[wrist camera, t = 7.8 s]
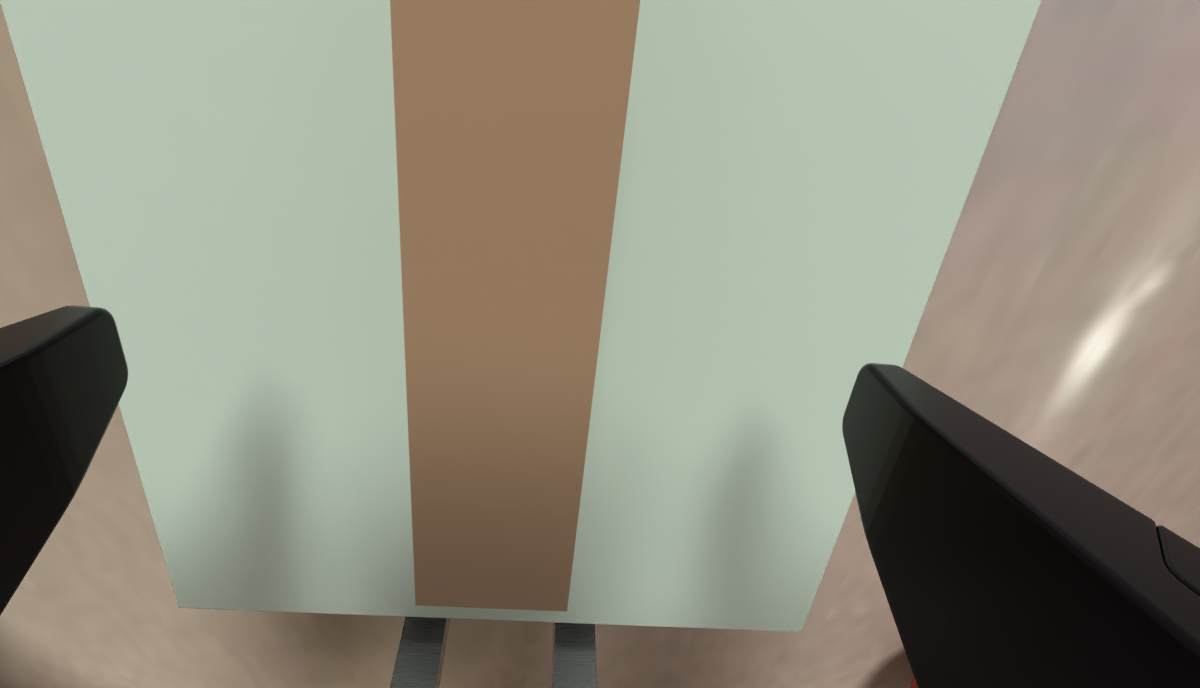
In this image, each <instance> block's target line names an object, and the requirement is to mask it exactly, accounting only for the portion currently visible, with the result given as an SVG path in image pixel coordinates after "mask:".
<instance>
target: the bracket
mask: <svg viewBox="0 0 1200 688" xmlns="http://www.w3.org/2000/svg"><path fill="white" fill-rule="evenodd" d="M449 622H450V618H429V617H406V618H405V622H404V627H403V631H402V636H401V641H400V645H399V650H398V654H397V659H396V663H395V668H394V673H393V677H392V682H391V686H390V688H439V684H440V678H441V672H442V665H443V659H444V653H445V647H446V640H447V634H448V628H449ZM552 688H597V685H596V652H595V624H584V623H558V622H553V660H552Z"/></svg>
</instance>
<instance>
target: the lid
mask: <svg viewBox="0 0 1200 688" xmlns="http://www.w3.org/2000/svg"><path fill="white" fill-rule="evenodd" d="M0 2H1V6H2V9H3V12H4V16H5V19H6V23H7V26H8V29H9V33H10V36H11V40H12V43H13V46H14V50H15V53H16V57H17V60H18V63H19V67H20V70H21V74H22V77H23V80H24V84H25V87H26V91H27V94H28V97H29V101H30V104H31V107H32V111H33V114H34V118H35V121H36V124H37V128H38V131H39V135H40V138H41V141H42V145H43V148H44V152H45V155H46V158H47V162H48V165H49V169H50V172H51V175H52V179H53V182H54V186H55V189H56V192H57V196H58V199H59V203H60V206H61V209H62V213H63V216H64V219H65V223H66V226H67V230H68V233H69V236H70V240H71V243H72V247H73V250H74V253H75V257H76V260H77V264H78V267H79V270H80V274H81V277H82V281H83V284H84V287H85V291H86V294H87V298H88V301H89V304H90V307H99V308H104V309H106V310H107V311H109V312H110V313H111V314H112V316H113V317H114V320H115V323H116V326H117V330H118V333H119V337H120V341H121V344H122V348H123V352H124V355H125V359H126V363H127V367H128V381H127V385H126V388H125V391H124V393H123V395H122V397H121V399H120V401H119V406H120V410H121V413H122V416H123V420H124V423H125V427H126V430H127V433H128V437H129V440H130V444H131V447H132V450H133V454H134V457H135V460H136V464H137V467H138V471H139V474H140V477H141V481H142V484H143V488H144V491H145V494H146V498H147V501H148V505H149V508H150V511H151V515H152V518H153V522H154V525H155V528H156V532H157V535H158V539H159V542H160V545H161V549H162V552H163V556H164V559H165V562H166V566H167V569H168V573H169V576H170V579H171V583H172V586H173V589H174V593H175V596H176V600H177V603H178V606H179V608H198V609H224V610H250V611H275V612H301V613H327V614H352V615H378V616H404V617H429V618H455V619H481V620H506V621H532V622H558V623H584V624H609V625H635V626H661V627H686V628H712V629H738V630H763V631H789V632H802V630H803V627H804V625H805V622H806V619H807V617H808V614H809V611H810V609H811V606H812V603H813V601H814V598H815V596H816V593H817V590H818V588H819V585H820V582H821V580H822V577H823V575H824V572H825V569H826V567H827V564H828V561H829V559H830V556H831V553H832V551H833V548H834V546H835V543H836V540H837V538H838V535H839V532H840V530H841V527H842V524H843V522H844V519H845V517H846V514H847V511H848V509H849V506H850V503H851V501H852V498H853V495H854V493H855V487H854V483H853V478H852V474H851V469H850V465H849V460H848V456H847V451H846V446H845V442H844V437H843V431H842V422H843V416H844V412H845V409H846V407H847V404H848V401H849V398H850V395H851V392H852V389H853V386H854V384H855V381H856V378H857V375H858V373H859V371H860V369H861V368H862V367H863V366H864V365H866V364H867V363H877V364H892V365H897V366H900V367H901V368H902V366H903V364H904V361H905V359H906V356H907V353H908V351H909V348H910V345H911V343H912V340H913V337H914V335H915V332H916V330H917V327H918V324H919V322H920V319H921V316H922V314H923V311H924V308H925V306H926V303H927V301H928V298H929V295H930V293H931V290H932V287H933V285H934V282H935V280H936V277H937V274H938V272H939V269H940V266H941V264H942V261H943V258H944V256H945V253H946V251H947V248H948V245H949V243H950V240H951V237H952V235H953V232H954V229H955V227H956V224H957V222H958V219H959V216H960V214H961V211H962V208H963V206H964V203H965V200H966V198H967V195H968V193H969V190H970V187H971V185H972V182H973V179H974V177H975V174H976V172H977V169H978V166H979V164H980V161H981V158H982V156H983V153H984V150H985V148H986V145H987V143H988V140H989V137H990V135H991V132H992V129H993V127H994V124H995V121H996V119H997V116H998V114H999V111H1000V108H1001V106H1002V103H1003V100H1004V98H1005V95H1006V92H1007V90H1008V87H1009V85H1010V82H1011V79H1012V77H1013V74H1014V71H1015V69H1016V66H1017V64H1018V61H1019V58H1020V56H1021V53H1022V50H1023V48H1024V45H1025V42H1026V40H1027V37H1028V35H1029V32H1030V29H1031V27H1032V24H1033V21H1034V19H1035V16H1036V13H1037V11H1038V8H1039V6H1040V3H1041V0H0Z"/></svg>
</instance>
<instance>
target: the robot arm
mask: <svg viewBox="0 0 1200 688" xmlns="http://www.w3.org/2000/svg"><path fill="white" fill-rule="evenodd" d="M127 381H128V367H127V363H126V359H125V355H124V352H123V348H122V344H121V341H120V337H119V333H118V330H117V326H116V323H115V320H114V317H113V316H112V314H111V313H110V312H109V311H107V310H106V309H104V308H99V307H86V306H65V307H62V308H59V309H56V310H53V311H50V312H47V313H44V314H41V315H38V316H35V317H32V318H29V319H26V320H23V321H20V322H17V323H14V324H11V325H8V326H5V327H2V328H0V615H1V614H2V612H3V610H4V609H5V607H6V606H7V604H8V602H9V601H10V599H11V597H12V596H13V594H14V593H15V591H16V589H17V588H18V586H19V585H20V583H21V581H22V580H23V578H24V577H25V575H26V573H27V572H28V570H29V569H30V567H31V565H32V564H33V562H34V561H35V559H36V557H37V556H38V554H39V552H40V551H41V549H42V548H43V546H44V544H45V543H46V541H47V540H48V538H49V536H50V535H51V533H52V532H53V530H54V528H55V527H56V525H57V524H58V522H59V520H60V519H61V517H62V516H63V514H64V512H65V511H66V509H67V507H68V505H69V504H70V502H71V500H72V499H73V497H74V495H75V493H76V491H77V489H78V488H79V486H80V484H81V482H82V480H83V478H84V476H85V474H86V472H87V469H88V467H89V465H90V463H91V461H92V459H93V457H94V455H95V452H96V450H97V448H98V446H99V444H100V442H101V440H102V438H103V435H104V433H105V431H106V429H107V427H108V425H109V423H110V420H111V418H112V416H113V414H114V412H115V410H116V408H117V406H118V403H119V401H120V399H121V397H122V395H123V393H124V391H125V388H126V385H127ZM842 431H843V437H844V442H845V446H846V451H847V456H848V460H849V465H850V469H851V474H852V478H853V483H854V487H855V492H856V497H857V501H858V506H859V510H860V515H861V519H862V523H863V527H864V531H865V535H866V538H867V541H868V545H869V548H870V551H871V554H872V557H873V560H874V563H875V565H876V568H877V571H878V574H879V577H880V580H881V583H882V586H883V588H884V591H885V594H886V597H887V600H888V603H889V606H890V609H891V611H892V614H893V617H894V620H895V623H896V626H897V629H898V632H899V634H900V637H901V640H902V643H903V646H904V649H905V652H906V655H907V657H908V660H909V663H910V666H911V669H912V672H913V675H914V678H915V680H916V683H917V686H918V688H1200V548H1198V547H1197V546H1195V545H1193V544H1192V543H1190V542H1188V541H1187V540H1185V539H1183V538H1182V537H1180V536H1178V535H1177V534H1175V533H1174V532H1172V531H1170V530H1169V529H1167V528H1165V527H1164V526H1160V525H1159V526H1156V524H1155V522H1154V521H1153V520H1152V519H1150V518H1149V517H1147V516H1145V515H1144V514H1142V513H1140V512H1139V511H1137V510H1135V509H1134V508H1132V507H1130V506H1129V505H1127V504H1125V503H1124V502H1122V501H1120V500H1119V499H1117V498H1116V497H1114V496H1112V495H1111V494H1109V493H1107V492H1106V491H1104V490H1102V489H1101V488H1099V487H1097V486H1096V485H1094V484H1093V483H1091V482H1089V481H1088V480H1086V479H1084V478H1083V477H1081V476H1079V475H1078V474H1076V473H1074V472H1073V471H1071V470H1069V469H1068V468H1066V467H1065V466H1063V465H1061V464H1060V463H1058V462H1056V461H1055V460H1053V459H1051V458H1050V457H1048V456H1046V455H1045V454H1043V453H1041V452H1040V451H1038V450H1037V449H1035V448H1033V447H1032V446H1030V445H1028V444H1027V443H1025V442H1023V441H1022V440H1020V439H1018V438H1017V437H1015V436H1013V435H1012V434H1010V433H1009V432H1007V431H1005V430H1004V429H1002V428H1000V427H999V426H997V425H995V424H994V423H992V422H990V421H989V420H987V419H985V418H984V417H982V416H981V415H979V414H977V413H976V412H974V411H972V410H971V409H969V408H967V407H966V406H964V405H962V404H961V403H959V402H957V401H956V400H954V399H953V398H951V397H949V396H948V395H946V394H944V393H943V392H941V391H939V390H938V389H936V388H934V387H933V386H931V385H929V384H928V383H926V382H925V381H923V380H921V379H920V378H918V377H916V376H915V375H913V374H911V373H910V372H908V371H906V370H905V369H903V368H901V367H900V366H897V365H892V364H877V363H867V364H866V365H864V366H863V367H862V368H861V369H860V371H859V373H858V375H857V378H856V381H855V384H854V386H853V389H852V392H851V395H850V398H849V401H848V404H847V407H846V409H845V412H844V416H843V422H842Z"/></svg>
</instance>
